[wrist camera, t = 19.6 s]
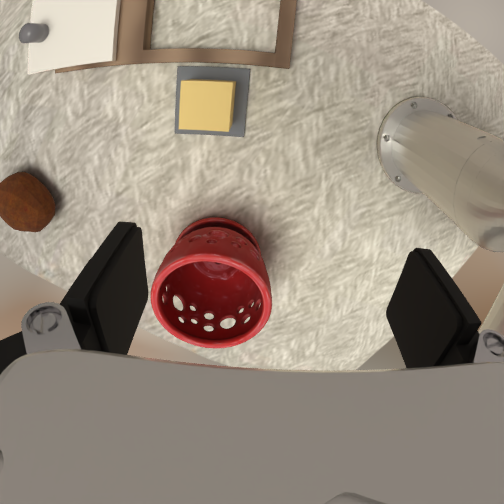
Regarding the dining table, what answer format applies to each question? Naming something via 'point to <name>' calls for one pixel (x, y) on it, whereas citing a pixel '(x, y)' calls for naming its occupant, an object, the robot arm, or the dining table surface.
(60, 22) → the lid
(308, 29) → the dining table surface
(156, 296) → the plant pot
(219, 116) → the block
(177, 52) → the brown box
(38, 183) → the potato
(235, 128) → the mat
